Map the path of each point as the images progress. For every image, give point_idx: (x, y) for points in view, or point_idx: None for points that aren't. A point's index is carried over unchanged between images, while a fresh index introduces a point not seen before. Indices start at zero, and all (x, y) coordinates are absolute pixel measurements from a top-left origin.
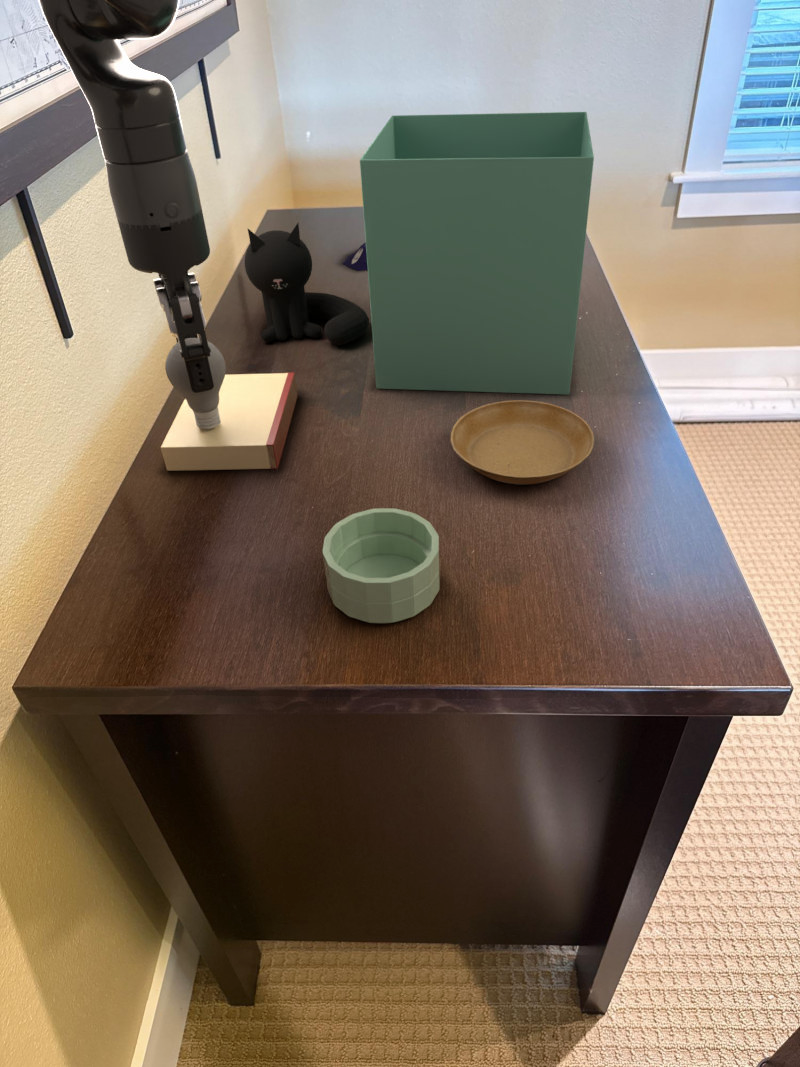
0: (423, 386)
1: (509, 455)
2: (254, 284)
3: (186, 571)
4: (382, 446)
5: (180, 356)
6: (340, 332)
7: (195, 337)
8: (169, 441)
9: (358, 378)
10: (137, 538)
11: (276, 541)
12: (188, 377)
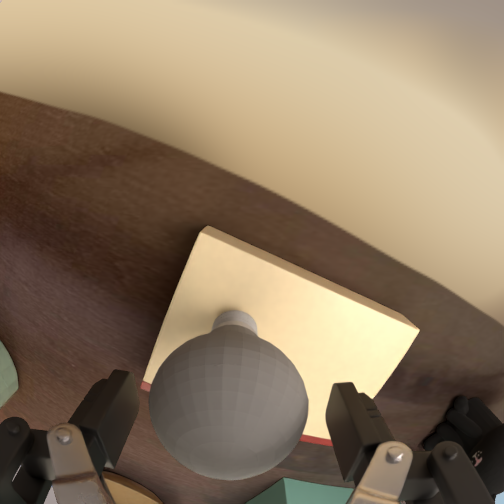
0: (255, 499)
1: (120, 489)
2: (502, 430)
3: (14, 217)
4: (164, 452)
5: (173, 419)
6: None
7: (334, 445)
8: (214, 251)
9: (317, 468)
10: (71, 166)
11: (32, 314)
12: (112, 389)
